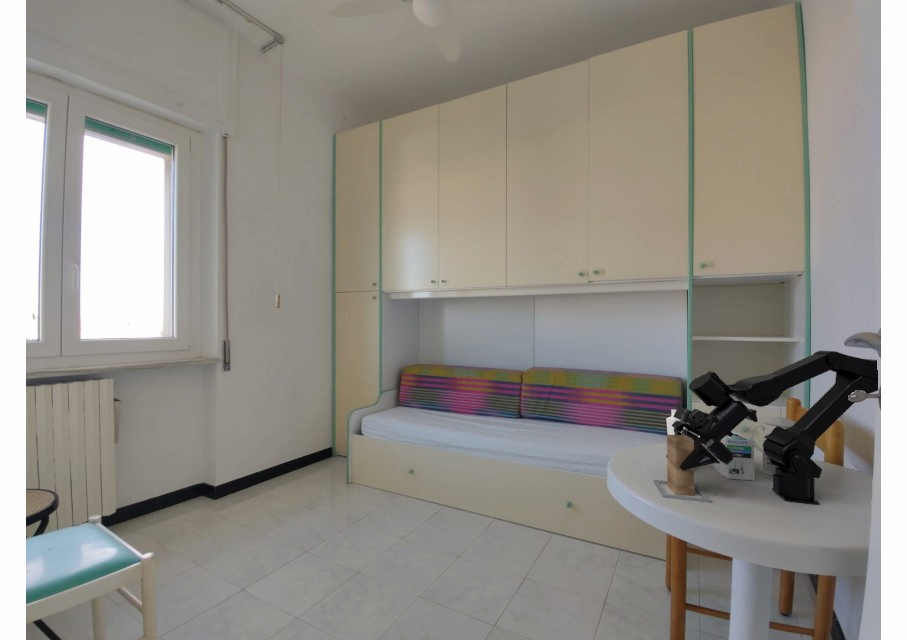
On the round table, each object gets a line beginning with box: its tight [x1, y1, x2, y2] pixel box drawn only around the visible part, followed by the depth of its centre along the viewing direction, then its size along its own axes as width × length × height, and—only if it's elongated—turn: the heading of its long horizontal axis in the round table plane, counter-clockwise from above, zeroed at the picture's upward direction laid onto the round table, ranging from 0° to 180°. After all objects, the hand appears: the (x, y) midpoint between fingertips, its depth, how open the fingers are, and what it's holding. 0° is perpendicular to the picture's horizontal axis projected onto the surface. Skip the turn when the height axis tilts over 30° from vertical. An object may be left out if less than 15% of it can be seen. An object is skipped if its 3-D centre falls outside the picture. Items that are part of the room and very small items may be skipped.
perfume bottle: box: [665, 408, 681, 435], centre depth 118 cm, size 5×4×15 cm
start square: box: [653, 479, 712, 503], centre depth 94 cm, size 10×10×1 cm
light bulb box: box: [709, 430, 756, 481], centre depth 106 cm, size 11×7×11 cm, turn 168°
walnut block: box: [666, 434, 695, 497], centre depth 94 cm, size 4×5×13 cm
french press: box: [750, 395, 797, 477], centre depth 108 cm, size 10×12×25 cm
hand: (674, 463), depth 94 cm, fingers open, 7 cm apart
